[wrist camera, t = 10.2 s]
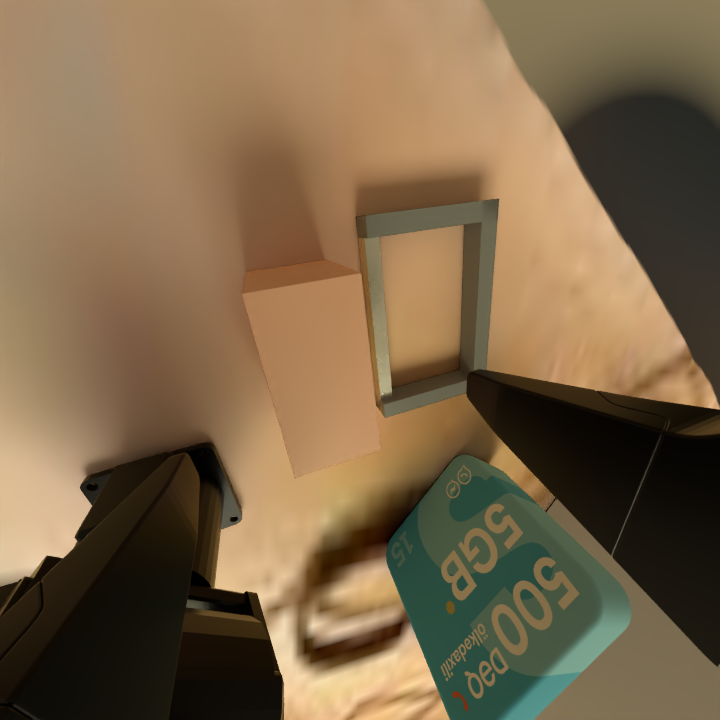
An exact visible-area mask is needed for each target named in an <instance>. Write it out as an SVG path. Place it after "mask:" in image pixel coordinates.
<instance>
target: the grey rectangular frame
mask: <svg viewBox="0 0 720 720" xmlns="http://www.w3.org/2000/svg"><path fill="white" fill-rule="evenodd" d="M498 206H499V199H492V200H484V201H476V202H468V203H460V204H453V205H445V206H437V207H429V208H421V209H413V210H405V211H397V212H389V213H381V214H373V215H365V216H359V217H356V223H357V232H358V241H359V250H360V260H361V269H362V278H363V287H364V296H365V305H366V314H367V323H368V332H369V341H370V350H371V359H372V369H373V378H374V387H375V396H376V405H377V407H378V408H379V410H380V411H381V413H382V414H383V415H384V417H385V418H386V417H390V416H393V415H396V414H400V413H403V412H406V411H409V410H413V409H416V408H419V407H422V406H426V405H429V404H432V403H436V402H439V401H442V400H445V399H449V398H452V397H455V396H458V395H462V394H465V393H466V387H467V374H468V373H469V372H470V371H474V370H477V369H483V370H486V365H487V352H488V338H489V325H490V312H491V299H492V286H493V272H494V259H495V246H496V233H497V220H498ZM463 224H464V250H463V281H462V312H461V343H460V370H456V371H453V372H449V373H446V374H442V375H438V376H435V377H431V378H428V379H424V380H421V381H417V382H414V383H410V384H406V385H403V386H399V387H396V388H392V386H391V373H390V361H389V349H388V336H387V324H386V312H385V300H384V287H383V275H382V263H381V250H380V238H379V237H381V236H388V235H395V234H402V233H409V232H416V231H422V230H429V229H436V228H443V227H450V226H457V225H463Z"/></svg>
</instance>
